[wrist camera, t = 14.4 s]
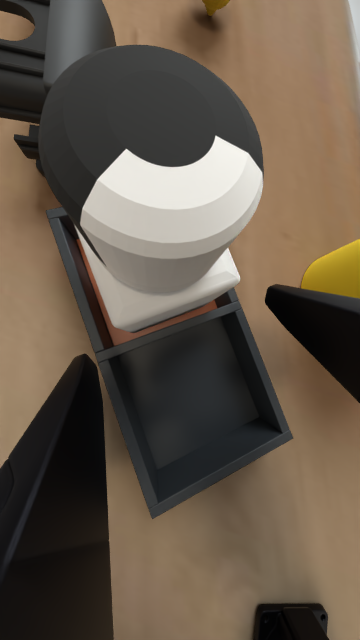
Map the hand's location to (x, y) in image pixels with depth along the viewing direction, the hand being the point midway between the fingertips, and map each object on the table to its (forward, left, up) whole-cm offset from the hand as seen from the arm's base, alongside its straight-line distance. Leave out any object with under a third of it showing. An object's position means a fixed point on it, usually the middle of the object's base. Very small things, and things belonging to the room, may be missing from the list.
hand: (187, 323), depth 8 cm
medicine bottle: (+4, +2, -8) cm, 9 cm away
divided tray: (0, 0, -8) cm, 8 cm away
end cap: (+17, +12, -8) cm, 22 cm away
